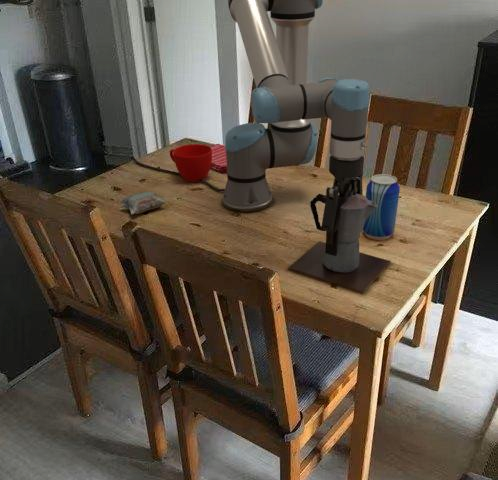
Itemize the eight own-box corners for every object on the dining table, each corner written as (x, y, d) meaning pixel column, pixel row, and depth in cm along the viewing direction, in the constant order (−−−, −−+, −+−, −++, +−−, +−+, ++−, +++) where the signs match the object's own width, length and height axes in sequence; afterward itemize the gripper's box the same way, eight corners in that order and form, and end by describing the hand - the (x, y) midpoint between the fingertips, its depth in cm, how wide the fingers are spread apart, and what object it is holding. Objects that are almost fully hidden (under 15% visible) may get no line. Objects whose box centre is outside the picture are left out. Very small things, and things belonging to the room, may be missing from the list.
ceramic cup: (184, 167, 196) (182, 140, 191) (221, 176, 187) (219, 147, 182) (160, 178, 187) (156, 150, 182) (197, 188, 179) (194, 159, 173)
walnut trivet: (288, 270, 134) (288, 267, 133) (319, 243, 144) (319, 241, 144) (362, 294, 124) (362, 291, 123) (390, 263, 135) (390, 260, 134)
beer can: (387, 244, 143) (394, 187, 134) (357, 237, 147) (362, 181, 138) (398, 231, 149) (405, 176, 140) (369, 224, 153) (374, 170, 144)
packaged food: (167, 209, 166) (165, 194, 163) (132, 220, 160) (129, 204, 158) (154, 200, 172) (152, 186, 169) (120, 211, 166) (117, 196, 164)
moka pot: (370, 277, 128) (378, 198, 117) (305, 272, 131) (307, 195, 120) (371, 257, 136) (379, 182, 125) (310, 252, 139) (312, 179, 128)
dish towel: (224, 174, 189) (223, 167, 187) (184, 158, 204) (183, 151, 202) (260, 161, 198) (260, 154, 196) (219, 147, 213) (219, 140, 211)
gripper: (339, 174, 109) (333, 269, 121) (383, 143, 124) (374, 231, 136) (306, 168, 113) (304, 260, 125) (353, 138, 128) (347, 224, 140)
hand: (340, 245), depth 131 cm, fingers open, 9 cm apart
